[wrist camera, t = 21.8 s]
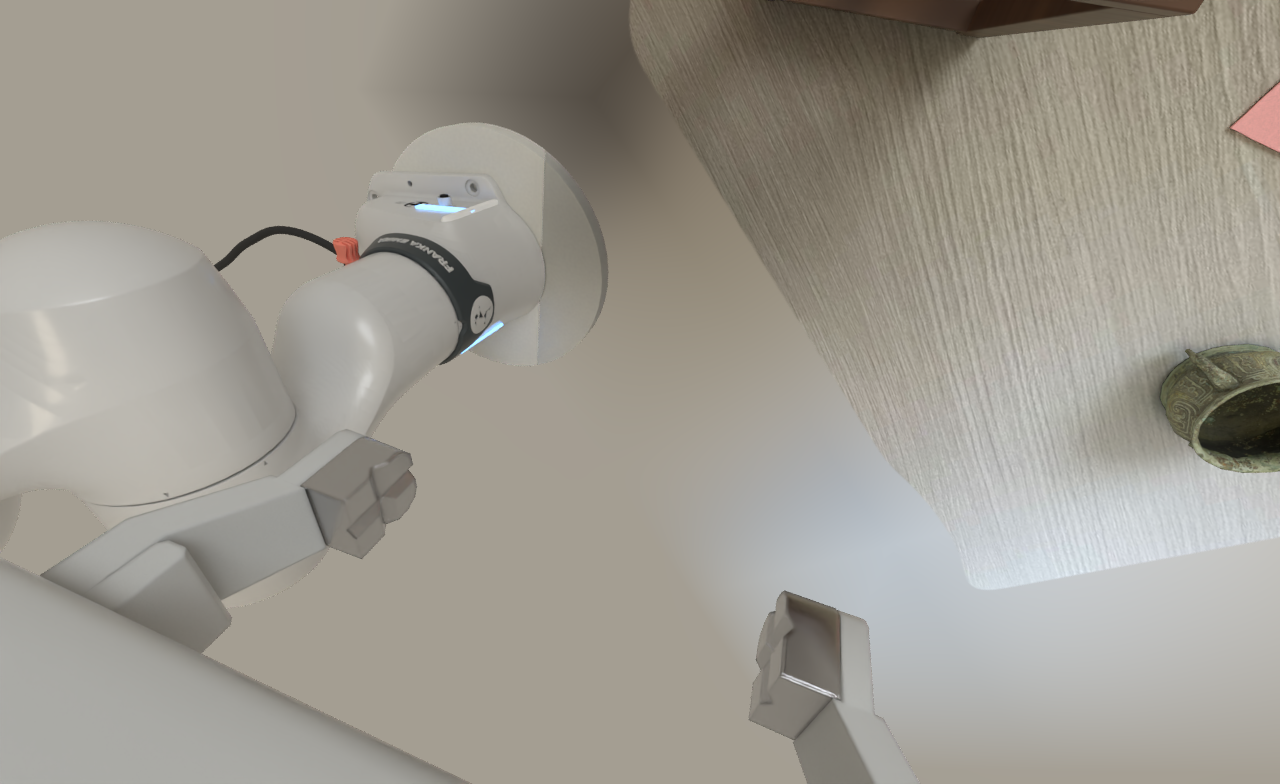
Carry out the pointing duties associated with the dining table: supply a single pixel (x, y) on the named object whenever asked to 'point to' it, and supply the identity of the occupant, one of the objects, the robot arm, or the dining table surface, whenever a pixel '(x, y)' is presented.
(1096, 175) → the dining table surface
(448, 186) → the robot arm
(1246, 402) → the vessel
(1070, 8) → the shelf
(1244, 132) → the cloth
